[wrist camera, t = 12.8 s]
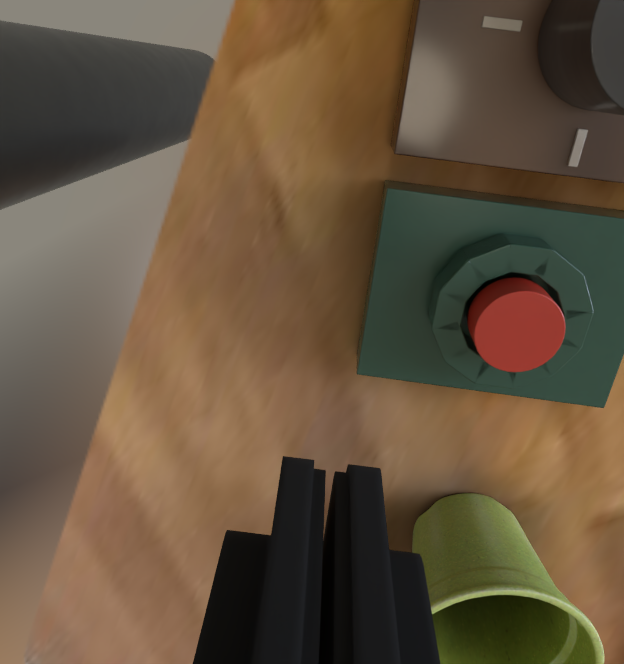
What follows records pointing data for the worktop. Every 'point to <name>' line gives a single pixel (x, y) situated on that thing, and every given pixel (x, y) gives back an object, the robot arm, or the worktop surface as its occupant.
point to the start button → (515, 325)
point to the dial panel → (495, 95)
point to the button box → (478, 272)
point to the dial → (584, 53)
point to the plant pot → (495, 590)
